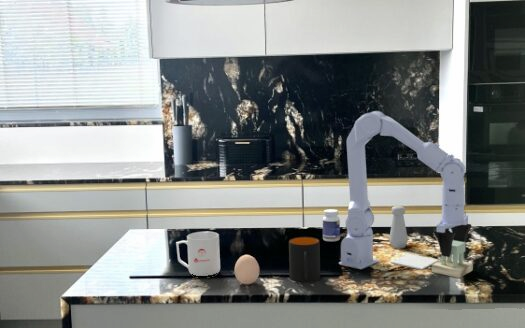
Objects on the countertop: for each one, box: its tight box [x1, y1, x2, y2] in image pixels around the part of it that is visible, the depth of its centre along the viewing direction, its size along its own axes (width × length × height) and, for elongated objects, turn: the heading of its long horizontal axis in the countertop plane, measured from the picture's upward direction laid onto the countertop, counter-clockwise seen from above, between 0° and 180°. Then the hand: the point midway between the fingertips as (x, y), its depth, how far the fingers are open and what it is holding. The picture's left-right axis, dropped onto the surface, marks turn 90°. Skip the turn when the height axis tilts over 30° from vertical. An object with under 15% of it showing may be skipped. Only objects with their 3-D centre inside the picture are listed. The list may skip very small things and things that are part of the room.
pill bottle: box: [322, 208, 341, 242], centre depth 198 cm, size 6×6×10 cm
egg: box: [234, 254, 260, 285], centre depth 158 cm, size 7×7×8 cm
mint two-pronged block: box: [439, 240, 466, 267], centre depth 162 cm, size 5×5×6 cm
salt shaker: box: [388, 205, 409, 249], centre depth 187 cm, size 6×6×13 cm
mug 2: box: [288, 236, 321, 284], centre depth 159 cm, size 8×12×10 cm
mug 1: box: [175, 231, 221, 276], centre depth 167 cm, size 12×9×11 cm
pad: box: [390, 253, 440, 271], centre depth 172 cm, size 10×10×1 cm
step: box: [431, 257, 474, 279], centre depth 162 cm, size 8×8×2 cm
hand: (452, 252), depth 162 cm, fingers open, 7 cm apart
